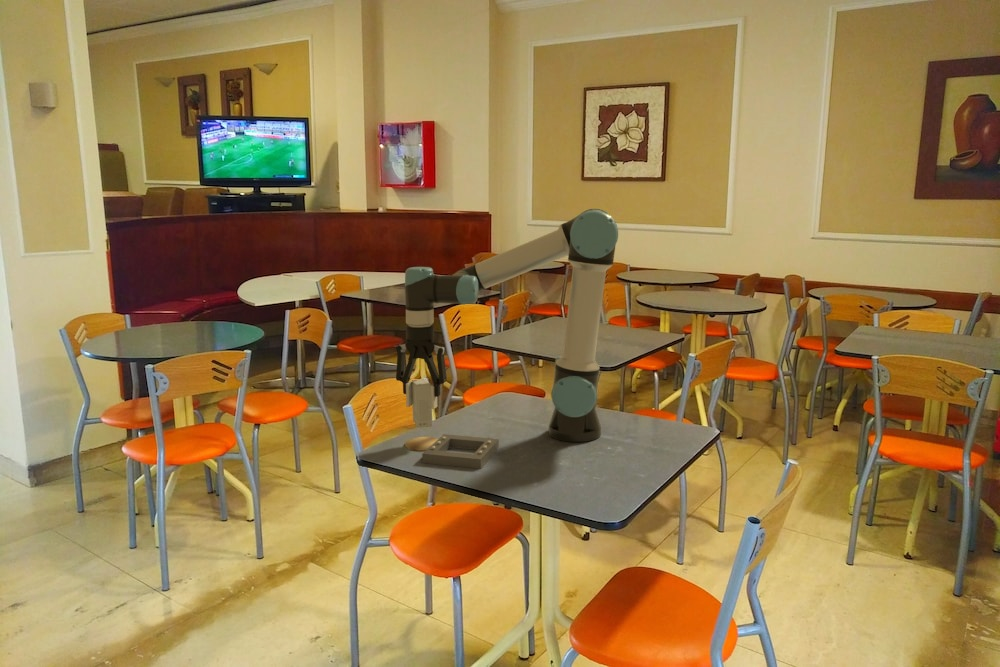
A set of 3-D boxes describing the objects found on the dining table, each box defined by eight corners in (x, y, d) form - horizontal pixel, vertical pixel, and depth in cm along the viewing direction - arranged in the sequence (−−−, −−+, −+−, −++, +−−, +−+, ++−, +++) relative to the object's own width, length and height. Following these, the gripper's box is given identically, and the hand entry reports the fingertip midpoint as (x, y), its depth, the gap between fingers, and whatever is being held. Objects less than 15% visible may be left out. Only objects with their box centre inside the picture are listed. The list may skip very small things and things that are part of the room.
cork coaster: (446, 440, 211) (446, 438, 210) (433, 452, 201) (433, 450, 201) (413, 437, 213) (413, 435, 213) (399, 449, 204) (399, 446, 204)
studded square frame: (498, 447, 204) (498, 437, 204) (481, 468, 189) (480, 457, 189) (444, 442, 209) (443, 432, 208) (422, 462, 194) (422, 451, 193)
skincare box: (432, 426, 204) (432, 384, 202) (416, 428, 202) (416, 385, 200) (427, 419, 210) (427, 378, 207) (411, 421, 208) (411, 379, 206)
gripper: (458, 323, 201) (460, 405, 206) (392, 320, 207) (394, 400, 211) (449, 328, 194) (450, 413, 199) (380, 325, 200) (383, 407, 204)
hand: (422, 406), depth 205 cm, fingers closed on skincare box, 7 cm apart
